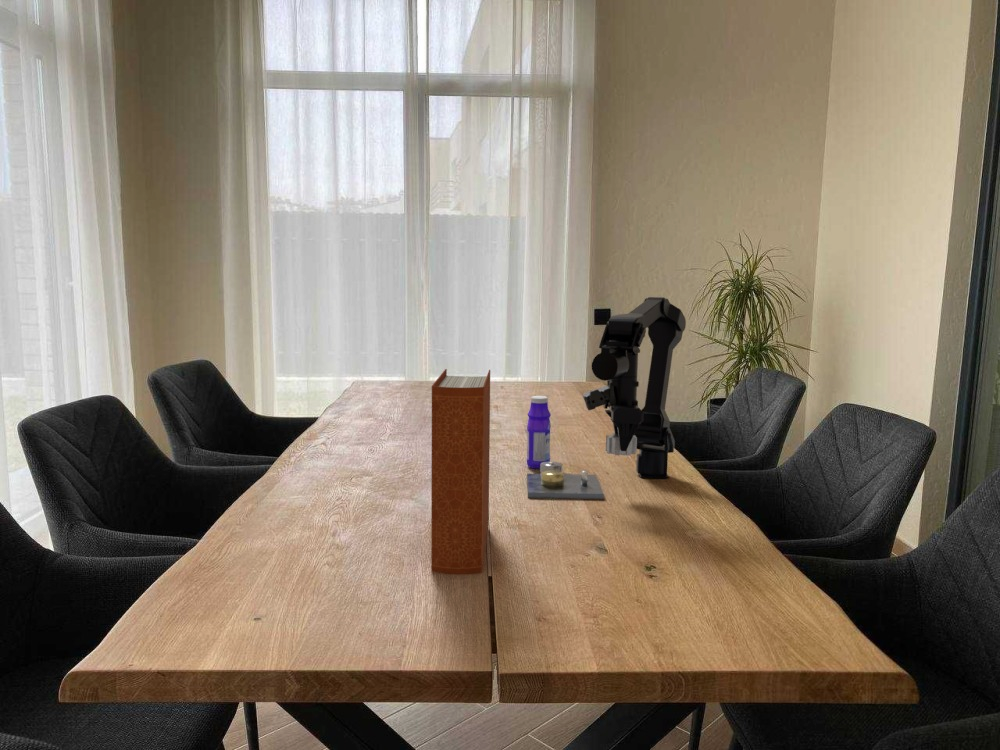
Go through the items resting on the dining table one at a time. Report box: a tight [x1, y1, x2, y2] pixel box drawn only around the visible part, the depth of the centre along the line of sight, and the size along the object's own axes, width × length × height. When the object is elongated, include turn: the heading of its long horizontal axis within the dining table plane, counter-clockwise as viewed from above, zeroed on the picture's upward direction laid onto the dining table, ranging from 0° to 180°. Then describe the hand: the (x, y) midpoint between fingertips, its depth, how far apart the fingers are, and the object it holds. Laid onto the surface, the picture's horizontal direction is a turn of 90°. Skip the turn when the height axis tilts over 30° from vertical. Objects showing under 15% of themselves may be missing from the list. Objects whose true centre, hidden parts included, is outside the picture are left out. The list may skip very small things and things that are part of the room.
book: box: [430, 368, 491, 576], centre depth 136 cm, size 23×8×30 cm, turn 178°
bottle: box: [526, 395, 552, 470], centre depth 196 cm, size 7×6×17 cm
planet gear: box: [605, 432, 638, 457], centre depth 172 cm, size 6×6×4 cm
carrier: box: [526, 461, 605, 500], centre depth 177 cm, size 16×16×5 cm
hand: (621, 447), depth 172 cm, fingers closed on planet gear, 6 cm apart
